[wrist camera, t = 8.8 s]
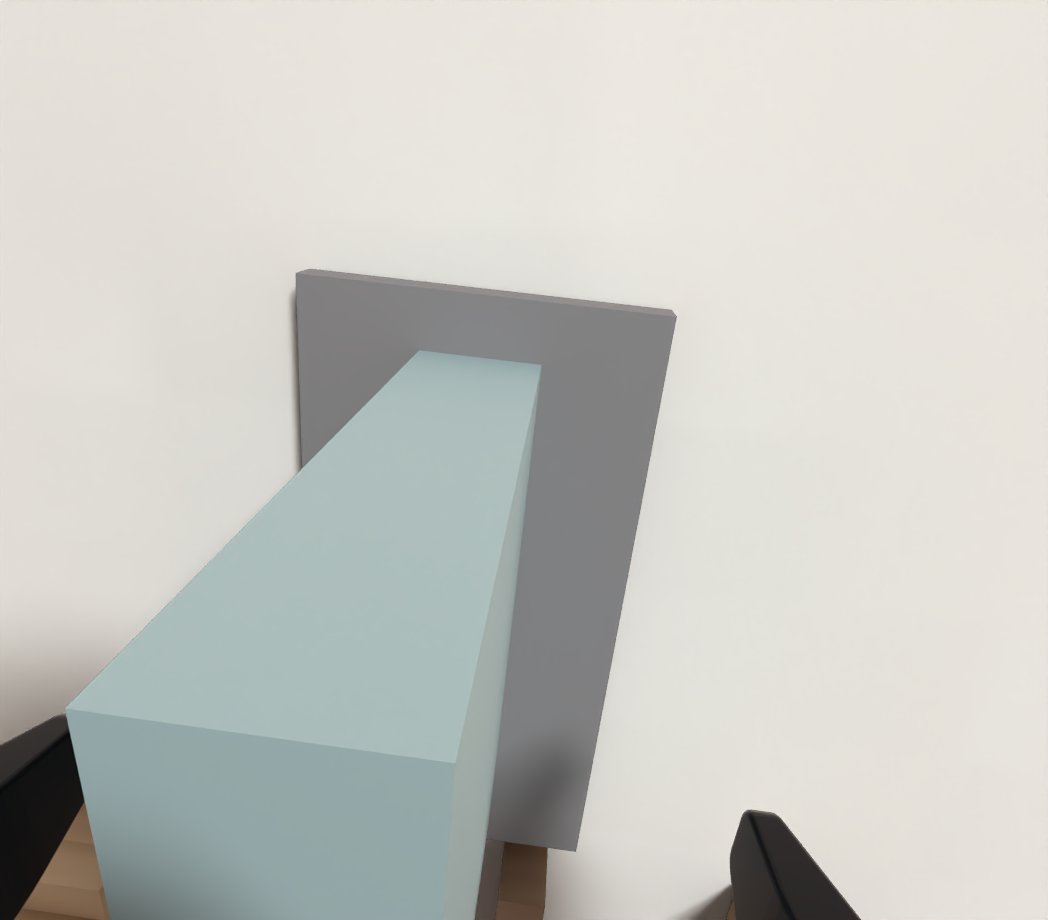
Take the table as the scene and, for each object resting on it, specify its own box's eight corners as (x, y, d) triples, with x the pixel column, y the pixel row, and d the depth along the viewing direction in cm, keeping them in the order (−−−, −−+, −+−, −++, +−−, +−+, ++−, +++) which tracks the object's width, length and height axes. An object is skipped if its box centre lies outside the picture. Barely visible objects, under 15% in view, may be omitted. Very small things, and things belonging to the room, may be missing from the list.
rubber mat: (575, 827, 15) (575, 852, 15) (323, 791, 16) (313, 814, 15) (671, 309, 11) (676, 316, 10) (309, 268, 11) (295, 273, 10)
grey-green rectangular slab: (490, 807, 15) (398, 1446, 7) (400, 794, 15) (217, 1415, 7) (541, 365, 11) (455, 762, 3) (419, 350, 11) (65, 709, 3)
